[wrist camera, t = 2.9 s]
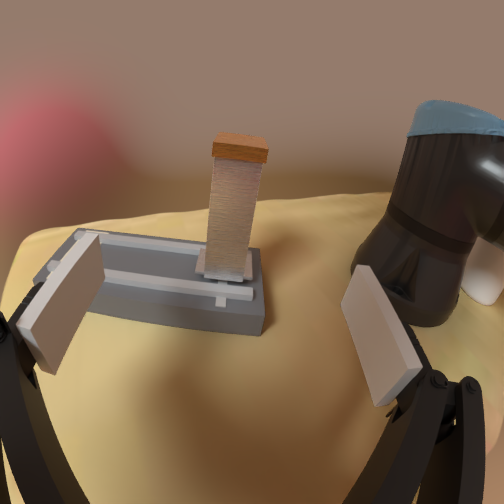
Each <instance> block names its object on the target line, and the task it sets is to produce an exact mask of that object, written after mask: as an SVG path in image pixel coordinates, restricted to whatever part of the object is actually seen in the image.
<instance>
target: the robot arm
mask: <svg viewBox="0 0 504 504" xmlns="http://www.w3.org/2000/svg"><path fill="white" fill-rule="evenodd" d="M407 138H408V139H407V144H406V147H405V151H404V155H403V158H402V162H401V166H400V169H399V172H398V176H397V179H396V183H395V186H394V189H393V192H392V195H391V198H390V201H389V204H388V207H387V210H386V212H385V215H384V216H383V218H382V219H381V220H380V222H379V223H378V224H377V225H376V227H375V228H374V229H373V230H372V232H371V233H370V234H369V236H368V237H367V238H366V240H365V241H364V242H363V243H362V244H361V245H360V246H359V248H358V250H357V252H356V254H355V257H354V259H353V262H352V265H351V275H352V278H351V280H350V283H349V285H348V287H347V290H346V292H345V295H344V297H343V299H342V301H341V304H340V306H341V308H342V311H343V314H344V317H345V319H346V322H347V325H348V328H349V330H350V333H351V336H352V339H353V342H354V345H355V348H356V351H357V354H358V356H359V359H360V362H361V366H362V369H363V372H364V375H365V378H366V381H367V384H368V387H369V391H370V394H371V397H372V400H373V404H374V407H377V406H384V405H389V404H390V403H391V402H392V401H393V400H394V399H395V398H396V399H397V402H398V404H397V405H396V406H395V407H394V408H393V409H392V410H391V411H390V412H389V413H388V414H387V415H386V417H389V416H390V415H391V417H390V419H389V421H388V423H387V425H386V428H385V430H384V432H383V434H382V436H381V438H380V440H379V442H378V444H377V446H376V448H375V450H374V452H373V453H372V455H371V457H370V459H369V461H368V463H367V464H366V466H365V468H364V470H363V471H362V473H361V475H360V476H359V478H358V480H357V481H356V483H355V485H354V486H353V488H352V489H351V491H350V492H349V494H348V496H347V497H346V499H345V500H344V501H343V503H342V504H411V503H412V501H413V499H414V497H415V494H416V492H417V490H418V488H419V485H420V489H419V494H418V499H417V503H416V504H482V500H483V491H484V478H485V422H484V409H483V399H482V390H481V387H480V385H479V383H478V381H477V380H476V379H474V378H473V377H471V376H466V377H464V378H463V379H462V380H461V381H460V382H459V383H456V382H451V381H448V379H447V378H446V376H445V375H444V374H443V373H441V372H440V371H438V370H433V369H432V367H431V365H430V363H429V361H428V359H427V357H426V355H425V353H424V351H423V349H422V347H421V346H420V343H419V341H418V339H416V338H417V337H416V335H415V333H414V331H413V329H412V328H411V327H410V326H409V325H408V324H411V325H415V326H421V327H434V326H438V325H441V324H443V323H444V322H445V321H446V320H447V319H448V318H449V316H450V315H451V313H452V312H453V310H454V308H455V307H456V305H457V302H458V297H459V291H460V287H461V284H462V280H463V276H464V271H465V267H466V262H467V258H468V256H469V253H470V251H471V249H472V247H473V245H474V242H475V241H476V239H477V237H481V238H482V239H484V240H486V241H487V242H489V243H491V244H492V245H494V246H495V247H497V248H498V249H500V250H502V251H503V252H504V121H503V120H501V119H499V118H498V117H496V116H494V115H492V114H490V113H488V112H486V111H483V110H480V109H477V108H474V107H471V106H468V105H464V104H459V103H455V102H450V101H442V100H430V101H425V102H423V103H421V104H420V105H419V106H418V108H417V109H416V112H415V115H414V118H413V122H412V125H411V128H410V131H409V133H408V134H407ZM104 280H105V273H104V267H103V261H102V254H101V247H100V240H99V234H94V233H85V235H84V236H83V237H82V238H81V239H80V240H79V241H78V242H77V244H76V245H75V246H74V247H73V248H72V249H71V251H70V252H69V253H68V254H67V255H66V257H65V258H64V259H63V260H62V262H61V263H60V264H59V265H58V266H57V268H56V269H55V270H54V272H53V273H52V274H51V275H50V277H49V278H48V279H47V281H46V282H39V283H38V284H36V285H35V286H34V287H32V289H31V290H30V291H29V293H28V294H27V295H26V297H25V298H24V299H23V301H22V303H20V305H19V306H18V308H17V309H16V311H15V312H14V313H13V315H12V316H11V318H10V319H9V321H8V322H7V321H6V319H5V317H4V315H3V313H2V312H1V311H0V504H11V501H10V496H9V491H8V486H7V481H6V475H5V469H4V461H3V453H2V442H3V446H4V449H5V452H6V455H7V459H8V462H9V465H10V467H11V470H12V473H13V476H14V478H15V481H16V484H17V486H18V489H19V491H20V493H21V496H22V498H23V500H24V502H25V504H90V502H89V501H88V499H87V497H86V496H85V494H84V492H83V490H82V489H81V487H80V485H79V483H78V481H77V479H76V478H75V476H74V474H73V472H72V470H71V468H70V466H69V464H68V461H67V459H66V457H65V455H64V453H63V451H62V448H61V446H60V444H59V441H58V439H57V436H56V434H55V431H54V429H53V426H52V423H51V421H50V418H49V415H48V412H47V409H46V406H45V403H44V400H43V397H42V394H41V390H40V387H39V383H38V380H37V376H36V372H35V370H34V368H33V367H34V365H35V363H37V364H38V366H39V367H40V369H41V370H42V371H44V372H47V373H50V374H53V375H56V372H57V370H58V368H59V366H60V364H61V361H62V359H63V357H64V355H65V353H66V351H67V349H68V347H69V345H70V342H71V340H72V338H73V336H74V334H75V332H76V331H77V329H78V327H79V325H80V323H81V321H82V319H83V317H84V315H85V313H86V312H87V310H88V308H89V306H90V304H91V302H92V301H93V299H94V297H95V295H96V294H97V292H98V290H99V288H100V287H101V285H102V283H103V281H104ZM407 323H408V324H407ZM455 419H456V425H454V420H455ZM1 438H2V442H1ZM420 483H421V484H420Z"/></svg>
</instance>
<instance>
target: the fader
mask: <svg viewBox="0 0 504 504" xmlns="http://www.w3.org/2000/svg"><path fill="white" fill-rule="evenodd" d="M268 150H269V149H268V146H267V144H266V141H265V139H264V138H262V137H255V136H248V135H241V134H232V133H224V132H219V134H218V135H217V137H216V138H215V140H214V141H213V148H212V157H215V159H214V168H213V178H212V187H211V196H210V207H209V217H208V228H207V240H206V249H203V248H200V252H199V256H198V260H197V264H196V268H195V274H201V275H204V278H210V279H218V280H227V281H236V282H243V279H245V280H252V278H253V276H252V254H247V252H248V246H249V241H250V235H251V229H252V223H253V217H254V211H255V205H256V199H257V194H258V188H259V181H260V176H261V170H262V164H263V163H266V161H267V155H268Z"/></svg>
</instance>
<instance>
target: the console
mask: <svg viewBox="0 0 504 504" xmlns="http://www.w3.org/2000/svg"><path fill="white" fill-rule="evenodd" d="M85 233H94V234H99V240H100V247H101V254H102V261H103V267H104V273H105V280H104V281H103V283H102V285H101V287H100V288H99V290H98V292H97V294H96V295H95V297H94V299H93V301H92V302H91V304H90V306H89V308H88V310H87V311H88V312H93V313H98V314H103V315H108V316H113V317H118V318H124V319H129V320H135V321H141V322H147V323H153V324H159V325H166V326H173V327H180V328H187V329H195V330H203V331H212V332H221V333H231V334H241V335H253V336H260V334H261V330H262V327H263V323H264V319H265V307H264V295H263V283H262V271H261V259H260V249H258V248H249V247H248V252H247V254H252V276H253V278H252V280H245V279H243V282H236V281H227V280H218V279H210V278H204V275H201V274H195V268H196V264H197V260H198V256H199V252H200V248H203V249H206V242H198V241H190V240H181V239H173V238H164V237H155V236H147V235H138V234H129V233H120V232H112V231H103V230H94V229H85V228H77V229H76V230H75V232H74V233H73V234H72V235H71V236H70V237H69V238H68V239H67V240H66V241H65V242H64V243H63V244H62V246H61V247H60V248H59V249H58V250H57V251H56V252H55V253H54V255H53V256H52V257H51V258H50V259H49V260H48V262H47V263H46V264H45V265H44V266H43V267H42V269H41V270H40V271H39V272H38V274H37V275H36V276H35V277H34V278H33V283H34V286H35V285H36V284H38V283H39V282H46V281H47V279H48V278H49V277H50V275H51V274H52V273H53V272H54V270H55V269H56V268H57V266H58V265H59V264H60V263H61V262H62V260H63V259H64V258H65V257H66V255H67V254H68V253H69V252H70V251H71V249H72V248H73V247H74V246H75V245H76V244H77V242H78V241H79V240H80V239H81V238H82V237H83V236H84V235H85Z"/></svg>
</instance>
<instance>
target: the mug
mask: <svg viewBox="0 0 504 504" xmlns="http://www.w3.org/2000/svg"><path fill="white" fill-rule="evenodd" d="M461 288H462V289H463V291H464V292H465V293H466V294H467V295H468V296H469V297H471V298H472V299H473V300H475V301H476V302H478V303H480V304H482V305H486V306H489V305H492V304H494V302H495V301H496V300H497V298H498V297H499V295H500V293H501V292H502V290H503V288H504V252H503V251H502V250H500V249H498V248H497V247H495V246H494V245H492V244H491V243H489V242H487V241H486V240H484V239H482V238H481V237H477V239H476V242H475V244H474V246H473V248H472V250H471V252H470V254H469V256H468V258H467V262H466V267H465V271H464V276H463V280H462V284H461Z"/></svg>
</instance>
